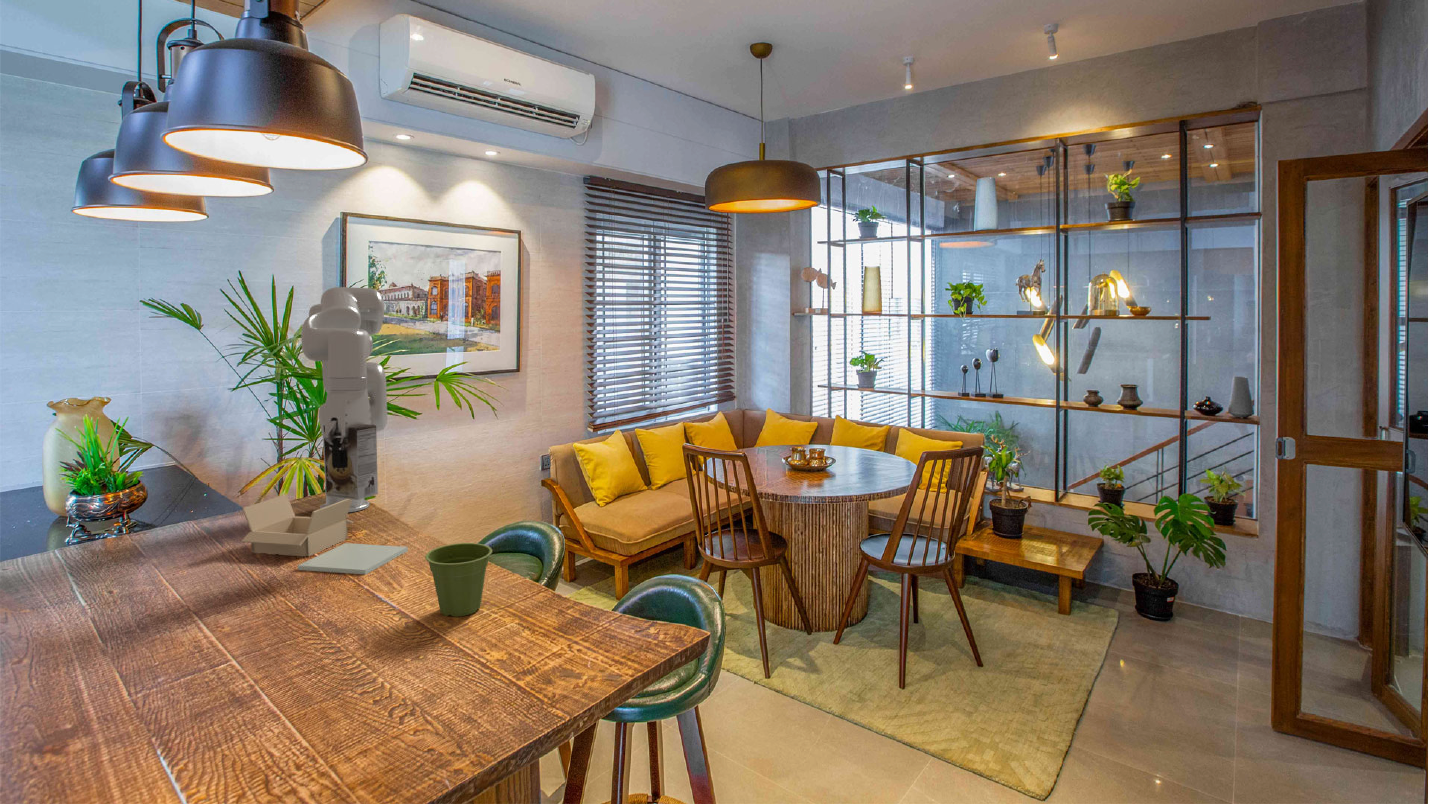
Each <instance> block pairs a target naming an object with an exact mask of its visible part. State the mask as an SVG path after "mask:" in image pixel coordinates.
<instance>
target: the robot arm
mask: <svg viewBox="0 0 1429 804" xmlns="http://www.w3.org/2000/svg"><path fill="white" fill-rule="evenodd" d="M308 311H309V312H308V317H307V318H306V319H305V320H304V322H303V324H302V326H301V350H302V353H303V355H304V356H305V357H306V358H307V359H308V360H310V361H312V362H313V361H314V362H322V363H321V364H322V366H321V368H322V382H323V388H324V391H325V392H326V393H327V394H326V400H325V403H323V404H322V405H321V406H320V407H319V409H318V421H319V426H320V430H321V435H322V436H321V437H322V445H323V447H324V439H325V440H326V441H327V444H328V445H329V446H330V450H332V466H333V468H347V450H344V448H345V445H346V438H347V437H348V431H349V428H350V427H354V426H359V425H366V424H368V425H376V432H379V431H380V432H381V431H382V430H384V429H385V428H386V427H387V424H388V423H387V422H388V401H387V400H388V399H387V398H388V397H387V395H388V394H387V377H386V373H385V369H384V367H383V366H382V365H381V364H380V363H377V362H367V359H368V358H369V357H370V355H371V354H372V353H373V351H374V348H373V347H374V342H373V337H372V336H376V335H377V334H379V333H380V331H381V330H382V327H383V320H384V316H385V303H384V299H383V297H382V294H381V293H380V292H379V291H378V290H377V289H374V288H372V287H349V286H347V287H346V286H345V287H344V286H336V287H331V288H329V289H327V290H326V291H324V292H323V294H322V295H321V297H320V303H317V304H313V305H312V306H311V307H310V309H309V310H308ZM324 425H325V432H324V427H323V426H324ZM337 433H341V435H342V436H341V435H337ZM338 439H341V441H340V443H339V442H338ZM323 458H324V459H323V462H324V467H325V450H324V449H323ZM324 483H325V484H324V485H325V487H324V488H325V490H326V475H325V474H324ZM343 500H346V498H338V497H329V496H326V495H325V502H324V503H323V504H321V505H320V507H319V509H321V508H324V507H327V506H329V505H332V504H335V503H337V502H340V501H343ZM369 507H370V502H369V500H366V499H365V498H363V499H359V500H355V499H352V502H351V505H350V508H349V511H348V513H354V512H359V511H362V510H365V509H368V508H369Z"/></svg>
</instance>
